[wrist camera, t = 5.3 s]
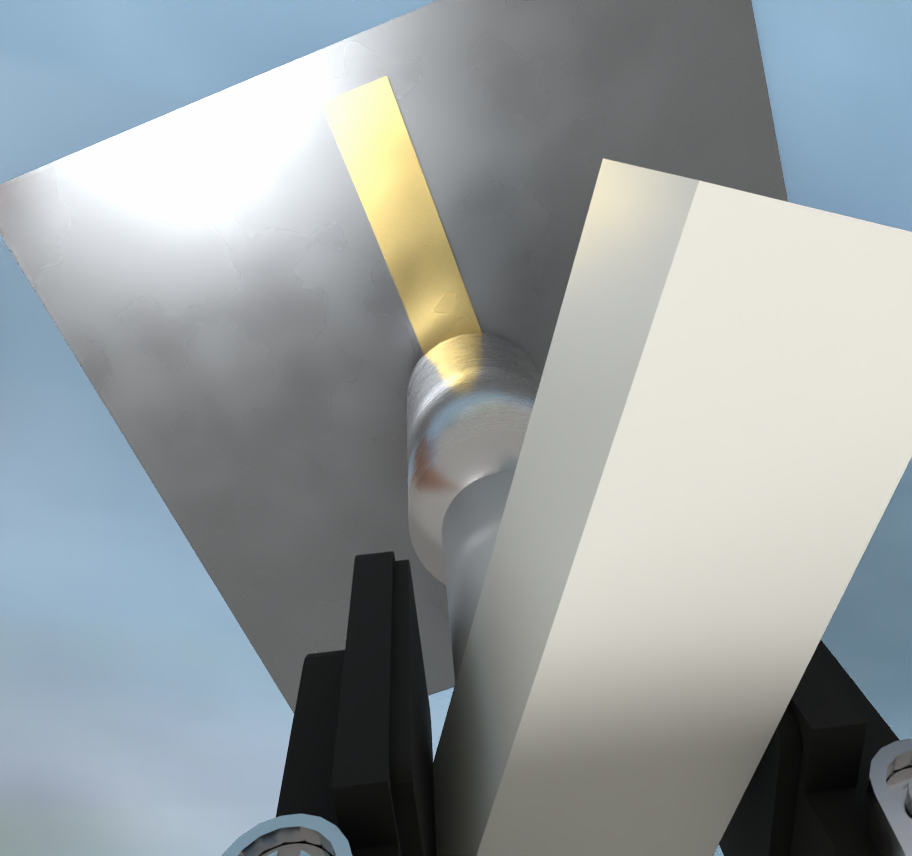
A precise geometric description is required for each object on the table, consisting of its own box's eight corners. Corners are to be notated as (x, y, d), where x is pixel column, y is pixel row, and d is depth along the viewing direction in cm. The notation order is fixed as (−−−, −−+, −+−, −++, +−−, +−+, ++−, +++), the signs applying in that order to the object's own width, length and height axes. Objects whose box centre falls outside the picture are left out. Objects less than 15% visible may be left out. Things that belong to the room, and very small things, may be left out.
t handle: (692, 180, 11) (1034, 261, 5) (477, 837, 17) (522, 1263, 10) (529, 141, 11) (691, 177, 5) (362, 826, 16) (337, 1261, 10)
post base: (825, 526, 24) (1011, 708, 17) (313, 702, 26) (277, 941, 18) (702, -103, 17) (927, -266, 10) (7, 188, 19) (-253, 237, 11)
